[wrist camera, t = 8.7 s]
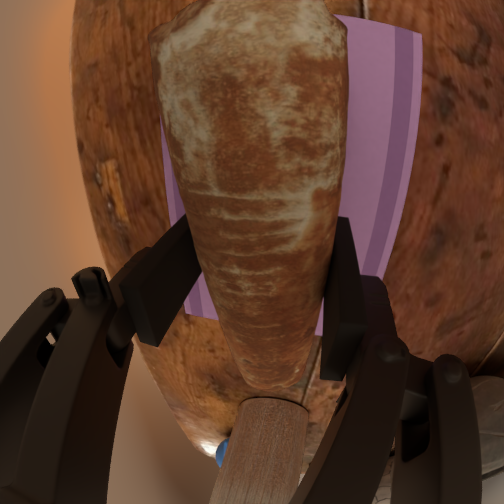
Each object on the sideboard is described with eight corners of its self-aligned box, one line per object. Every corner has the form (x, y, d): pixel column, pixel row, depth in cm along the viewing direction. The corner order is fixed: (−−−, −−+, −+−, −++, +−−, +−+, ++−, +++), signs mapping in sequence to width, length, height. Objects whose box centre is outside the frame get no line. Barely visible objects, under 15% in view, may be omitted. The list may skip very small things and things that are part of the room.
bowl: (382, 379, 25) (382, 505, 13) (533, 321, 17) (571, 423, 4) (392, 433, 34) (390, 509, 21) (499, 397, 25) (511, 469, 13)
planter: (245, 420, 37) (208, 542, 19) (233, 392, 32) (182, 545, 14) (308, 426, 35) (282, 555, 16) (310, 399, 30) (277, 566, 11)
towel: (163, 25, 12) (158, 24, 12) (419, 35, 9) (422, 34, 9) (187, 310, 25) (185, 313, 25) (358, 335, 22) (358, 339, 22)
